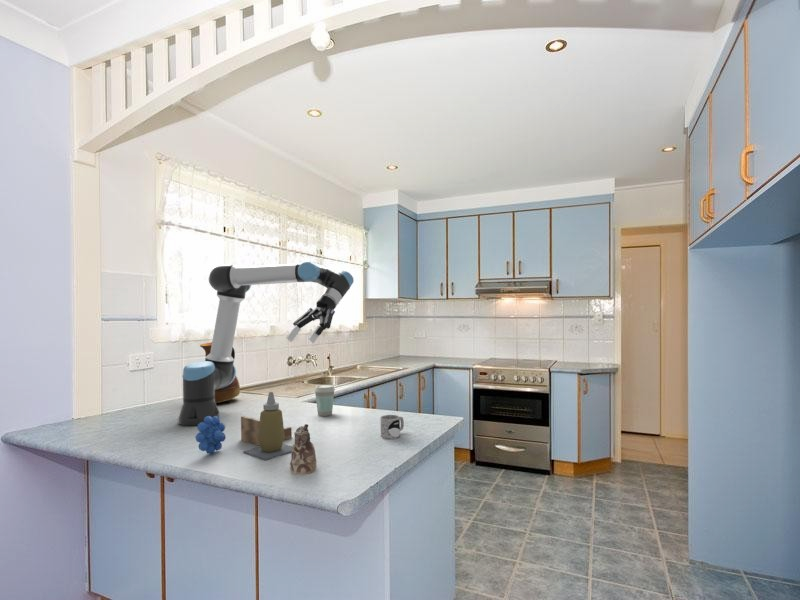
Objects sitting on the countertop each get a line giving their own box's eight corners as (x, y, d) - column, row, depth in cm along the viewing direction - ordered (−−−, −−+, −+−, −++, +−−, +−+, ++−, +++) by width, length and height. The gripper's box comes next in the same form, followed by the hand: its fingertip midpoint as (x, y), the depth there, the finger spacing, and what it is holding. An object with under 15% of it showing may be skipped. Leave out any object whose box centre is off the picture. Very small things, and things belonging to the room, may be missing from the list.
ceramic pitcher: (188, 403, 213) (187, 341, 214) (227, 396, 228) (226, 339, 229) (207, 408, 200) (207, 343, 201) (247, 400, 216) (246, 340, 216)
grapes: (208, 461, 128) (207, 420, 129) (190, 459, 131) (189, 419, 131) (235, 449, 139) (235, 411, 140) (218, 447, 142) (218, 410, 142)
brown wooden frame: (241, 439, 150) (241, 416, 150) (271, 431, 159) (271, 409, 159) (261, 446, 142) (260, 421, 142) (291, 437, 151) (291, 414, 152)
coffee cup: (318, 412, 189) (318, 384, 189) (337, 412, 188) (337, 384, 188) (311, 417, 180) (311, 387, 181) (331, 417, 179) (331, 388, 179)
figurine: (284, 472, 118) (284, 428, 119) (299, 464, 125) (299, 421, 125) (307, 475, 116) (306, 430, 116) (321, 466, 123) (320, 423, 123)
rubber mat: (243, 452, 136) (243, 451, 136) (276, 443, 145) (276, 441, 145) (265, 460, 128) (265, 458, 128) (298, 449, 138) (298, 448, 138)
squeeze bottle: (277, 454, 132) (276, 394, 133) (253, 453, 134) (252, 394, 134) (289, 446, 140) (288, 389, 140) (266, 445, 142) (265, 389, 142)
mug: (390, 440, 146) (390, 420, 146) (376, 436, 151) (376, 417, 151) (410, 433, 153) (410, 414, 154) (396, 430, 158) (396, 412, 158)
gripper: (354, 307, 174) (326, 347, 162) (314, 308, 189) (285, 345, 177) (344, 293, 170) (315, 334, 158) (304, 295, 185) (274, 333, 173)
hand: (299, 340), depth 167 cm, fingers open, 13 cm apart
